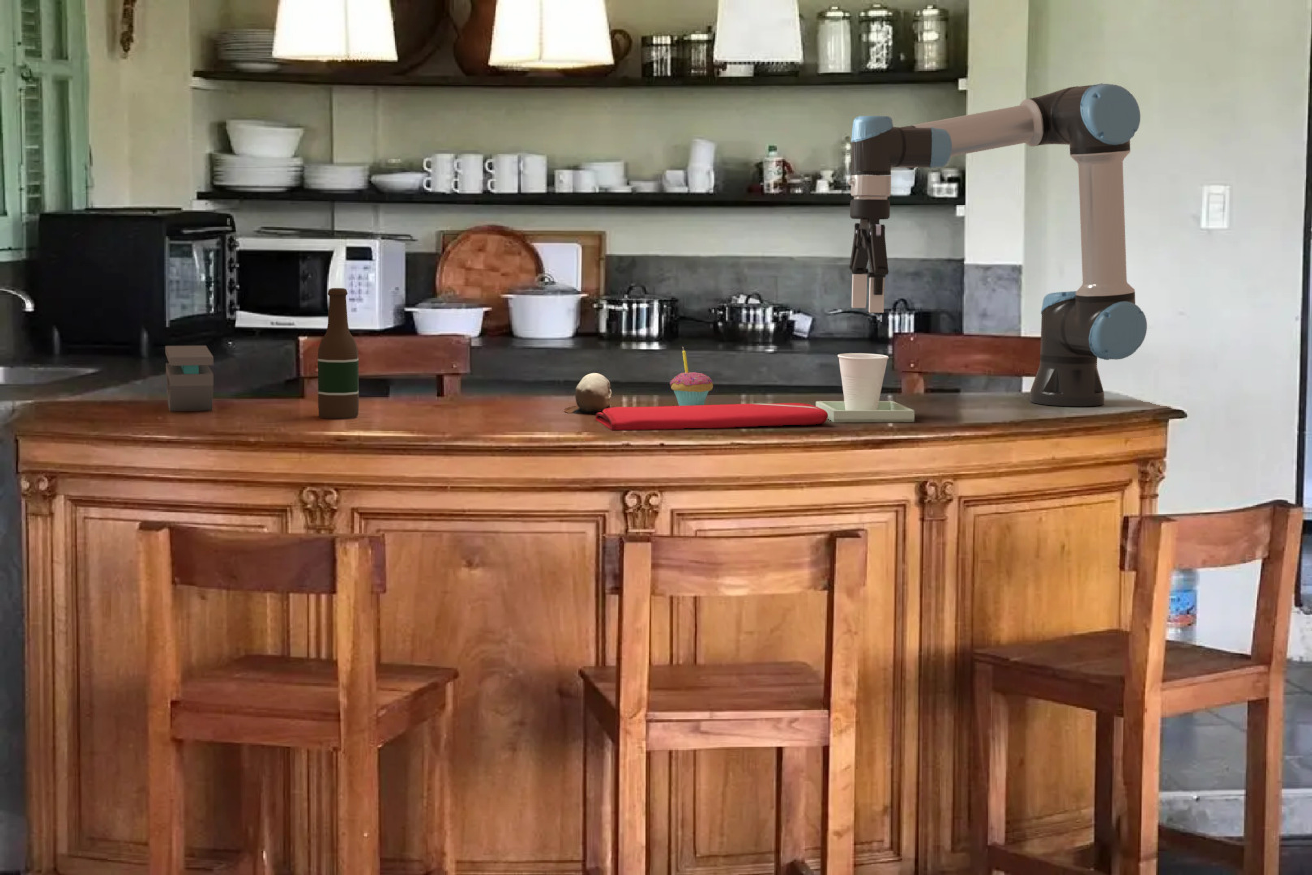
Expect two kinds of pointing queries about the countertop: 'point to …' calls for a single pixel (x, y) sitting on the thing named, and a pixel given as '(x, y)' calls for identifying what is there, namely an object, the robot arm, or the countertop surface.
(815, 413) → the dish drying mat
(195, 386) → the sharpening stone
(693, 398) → the cupcake
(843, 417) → the tray
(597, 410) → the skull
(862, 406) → the cup
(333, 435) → the countertop surface
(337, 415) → the beer bottle
